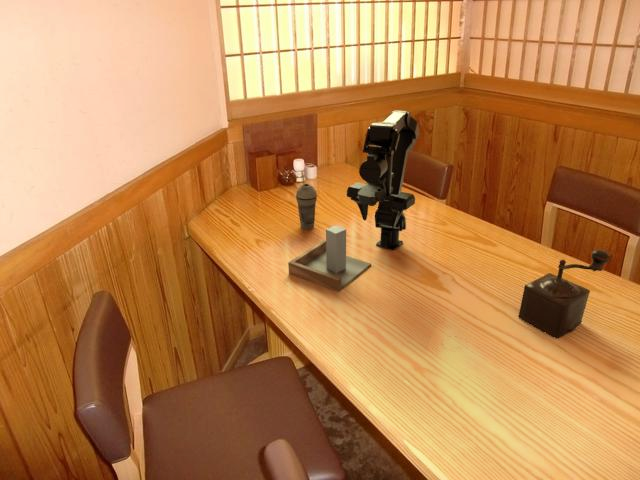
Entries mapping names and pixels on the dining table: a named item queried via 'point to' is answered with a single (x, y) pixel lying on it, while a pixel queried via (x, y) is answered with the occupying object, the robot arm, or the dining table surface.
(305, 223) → the beverage cup
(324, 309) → the dining table surface
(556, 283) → the manual coffee grinder
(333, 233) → the slate block
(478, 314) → the dining table surface
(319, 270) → the tray
